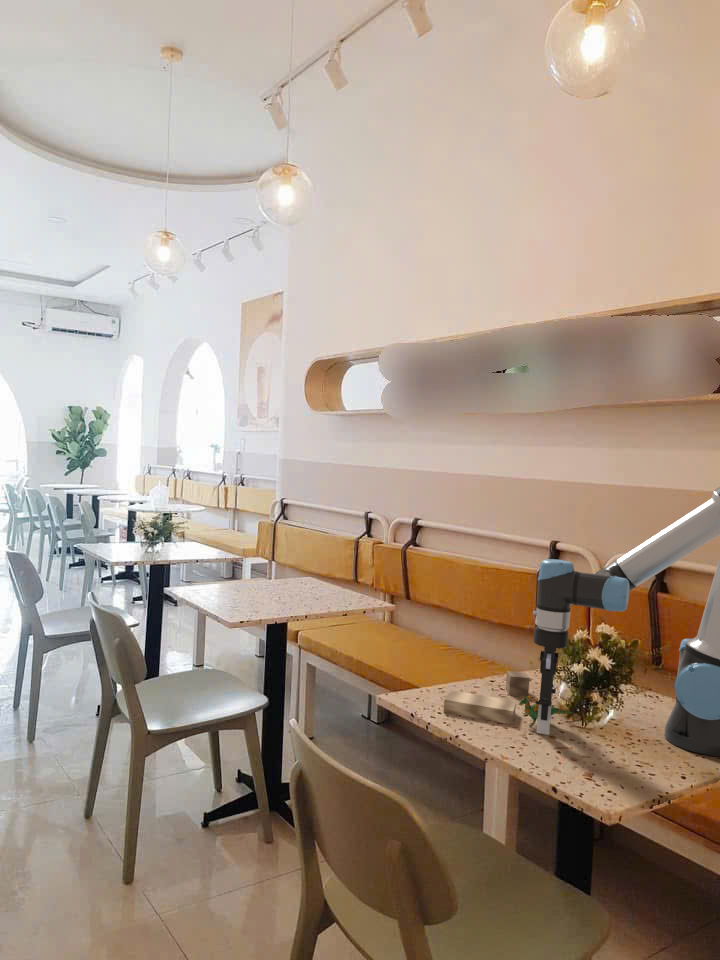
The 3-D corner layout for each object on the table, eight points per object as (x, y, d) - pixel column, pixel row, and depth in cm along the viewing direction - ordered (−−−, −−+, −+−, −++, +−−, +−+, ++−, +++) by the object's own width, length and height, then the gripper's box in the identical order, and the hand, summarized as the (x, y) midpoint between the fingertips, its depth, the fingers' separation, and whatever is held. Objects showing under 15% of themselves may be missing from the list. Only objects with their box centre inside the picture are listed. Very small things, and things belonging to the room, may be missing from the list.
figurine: (518, 720, 165) (521, 686, 165) (571, 731, 160) (574, 696, 160) (516, 724, 163) (518, 689, 162) (569, 736, 158) (572, 699, 157)
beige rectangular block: (515, 713, 170) (516, 700, 170) (512, 724, 163) (513, 711, 163) (449, 702, 175) (450, 690, 175) (443, 712, 167) (444, 699, 167)
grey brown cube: (524, 690, 189) (525, 672, 189) (528, 696, 184) (529, 677, 184) (505, 689, 189) (507, 670, 189) (508, 695, 184) (510, 676, 184)
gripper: (537, 617, 172) (529, 710, 172) (531, 634, 152) (523, 739, 153) (569, 621, 170) (561, 715, 170) (568, 639, 150) (559, 746, 151)
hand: (543, 726), depth 161 cm, fingers open, 8 cm apart
